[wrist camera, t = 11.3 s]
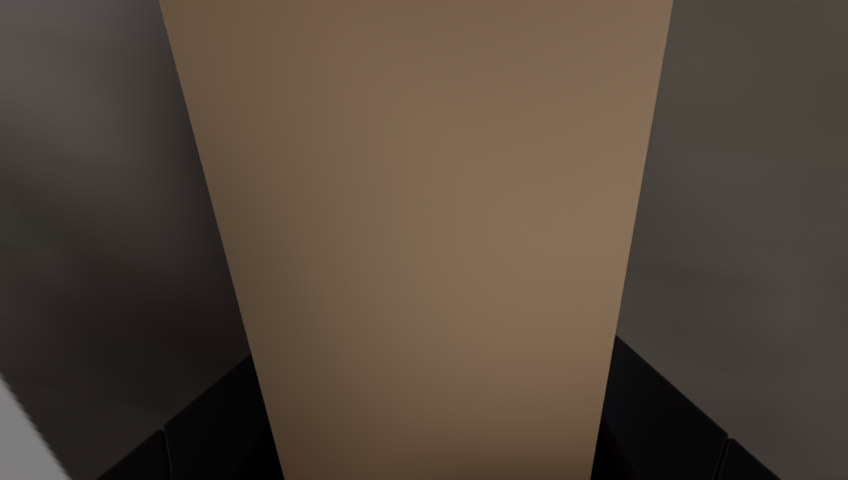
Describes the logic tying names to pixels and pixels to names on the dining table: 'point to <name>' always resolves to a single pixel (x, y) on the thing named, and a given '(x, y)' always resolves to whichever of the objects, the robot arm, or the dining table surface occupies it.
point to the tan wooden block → (425, 219)
